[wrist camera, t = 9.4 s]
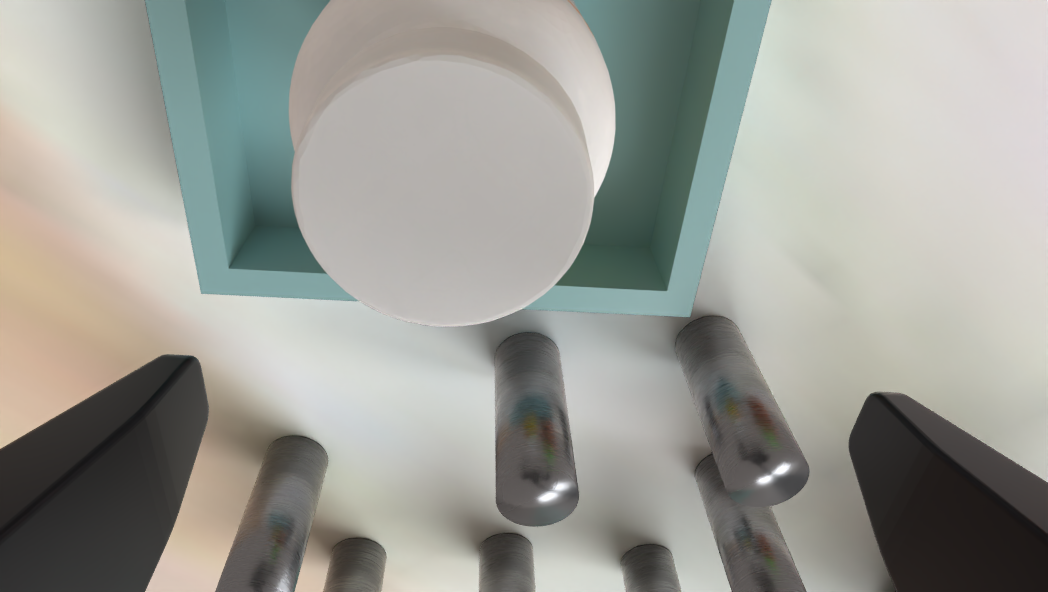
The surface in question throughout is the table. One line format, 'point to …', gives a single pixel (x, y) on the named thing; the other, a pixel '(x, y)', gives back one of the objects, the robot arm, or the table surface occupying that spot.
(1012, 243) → the table surface
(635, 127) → the teal tray
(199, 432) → the robot arm
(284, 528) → the spacer field
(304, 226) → the supplement bottle
